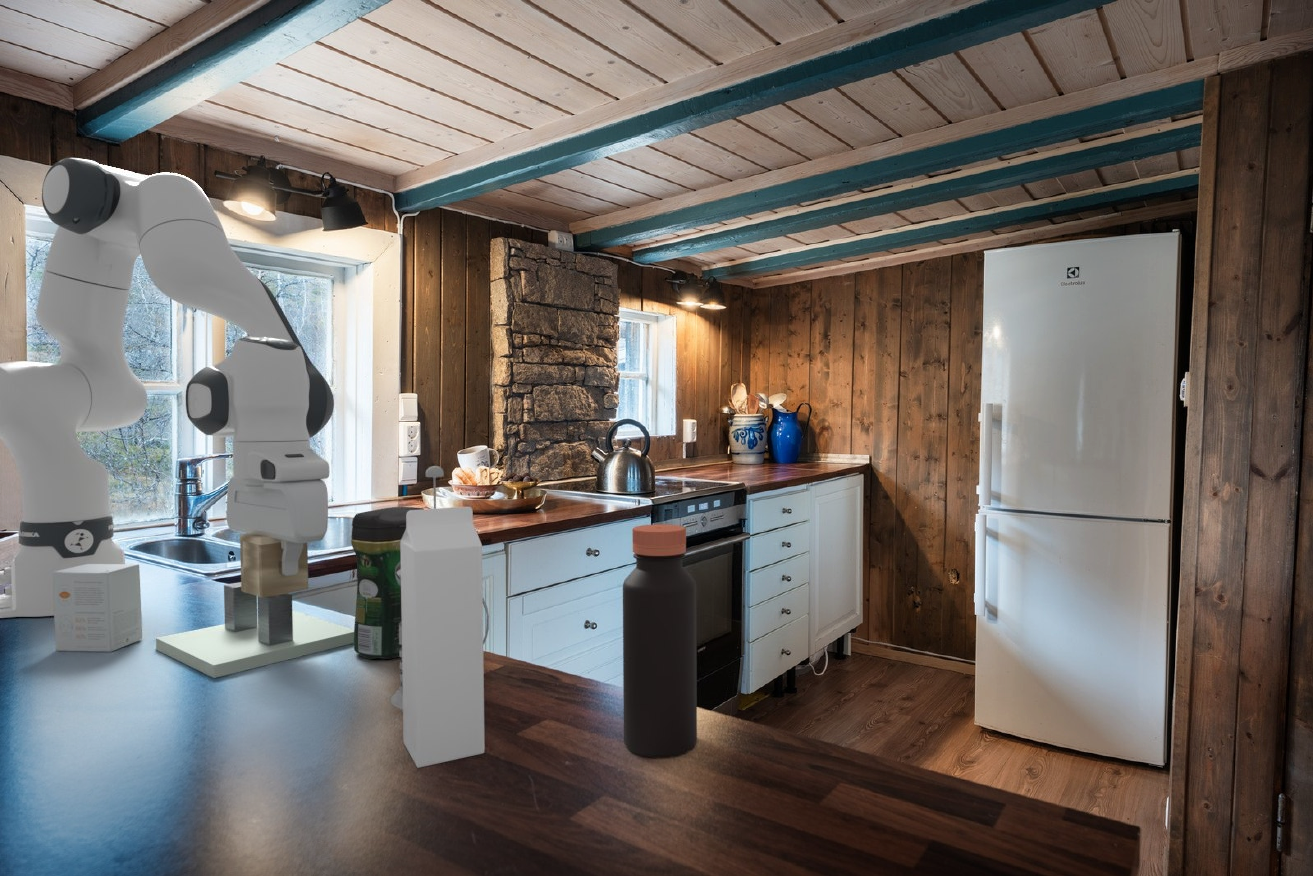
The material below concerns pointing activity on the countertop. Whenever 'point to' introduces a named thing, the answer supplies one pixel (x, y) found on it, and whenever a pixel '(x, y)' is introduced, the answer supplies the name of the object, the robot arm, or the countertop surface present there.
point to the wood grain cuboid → (268, 567)
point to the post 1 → (239, 608)
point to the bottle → (659, 646)
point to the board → (250, 645)
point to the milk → (442, 636)
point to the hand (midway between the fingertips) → (275, 571)
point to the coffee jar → (378, 581)
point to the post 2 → (275, 619)
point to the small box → (97, 607)
